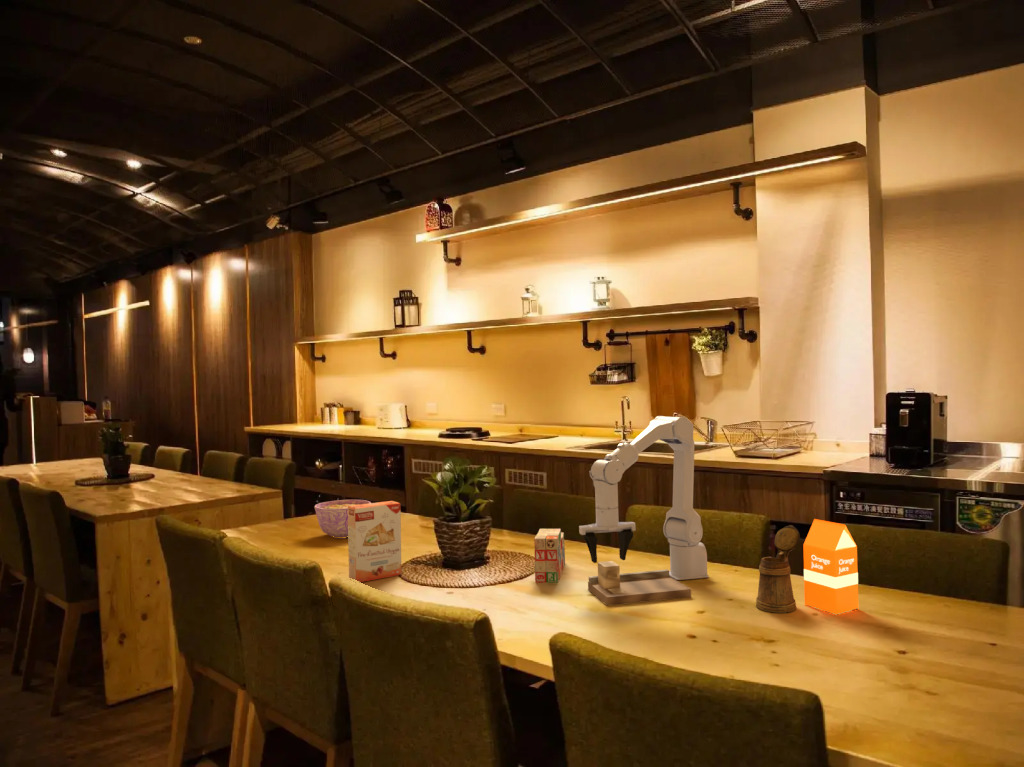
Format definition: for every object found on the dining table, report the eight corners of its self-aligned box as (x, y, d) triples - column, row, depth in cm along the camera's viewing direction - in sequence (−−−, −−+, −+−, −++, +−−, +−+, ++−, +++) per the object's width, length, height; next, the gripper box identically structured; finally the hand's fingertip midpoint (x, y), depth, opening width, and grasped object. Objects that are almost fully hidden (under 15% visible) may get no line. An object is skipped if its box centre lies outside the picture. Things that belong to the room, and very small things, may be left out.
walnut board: (666, 582, 193) (666, 568, 193) (691, 597, 179) (690, 582, 179) (588, 589, 188) (587, 576, 188) (607, 605, 174) (606, 591, 174)
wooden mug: (812, 602, 173) (810, 527, 173) (784, 616, 164) (782, 536, 164) (776, 594, 179) (774, 522, 179) (748, 607, 170) (746, 531, 170)
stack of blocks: (544, 563, 217) (543, 522, 217) (565, 563, 216) (564, 522, 216) (535, 583, 196) (533, 537, 196) (558, 583, 195) (557, 537, 195)
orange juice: (836, 615, 163) (834, 526, 163) (804, 605, 171) (802, 520, 171) (859, 609, 167) (857, 522, 167) (826, 599, 175) (824, 516, 175)
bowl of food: (365, 541, 253) (364, 508, 253) (308, 542, 253) (307, 509, 253) (376, 529, 273) (375, 498, 273) (323, 530, 273) (322, 500, 273)
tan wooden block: (612, 582, 187) (612, 560, 187) (620, 587, 182) (619, 565, 182) (598, 583, 186) (597, 562, 186) (605, 589, 181) (604, 567, 181)
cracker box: (356, 584, 199) (354, 508, 199) (348, 579, 204) (346, 505, 204) (403, 575, 207) (401, 502, 207) (393, 571, 212) (391, 499, 212)
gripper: (584, 512, 179) (586, 566, 179) (639, 507, 182) (641, 561, 182) (575, 507, 186) (577, 560, 186) (629, 503, 189) (630, 555, 189)
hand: (608, 560), depth 184 cm, fingers open, 7 cm apart
